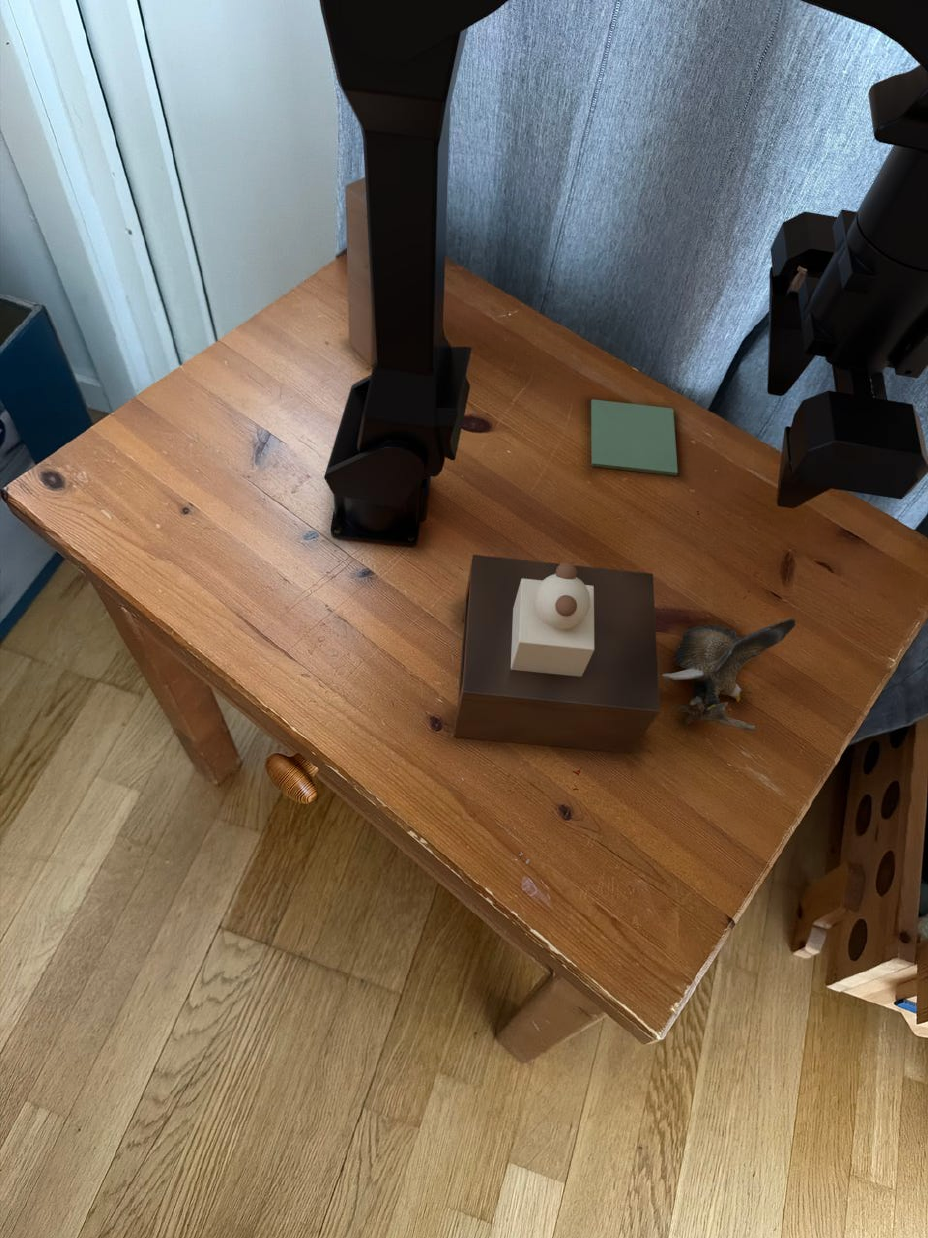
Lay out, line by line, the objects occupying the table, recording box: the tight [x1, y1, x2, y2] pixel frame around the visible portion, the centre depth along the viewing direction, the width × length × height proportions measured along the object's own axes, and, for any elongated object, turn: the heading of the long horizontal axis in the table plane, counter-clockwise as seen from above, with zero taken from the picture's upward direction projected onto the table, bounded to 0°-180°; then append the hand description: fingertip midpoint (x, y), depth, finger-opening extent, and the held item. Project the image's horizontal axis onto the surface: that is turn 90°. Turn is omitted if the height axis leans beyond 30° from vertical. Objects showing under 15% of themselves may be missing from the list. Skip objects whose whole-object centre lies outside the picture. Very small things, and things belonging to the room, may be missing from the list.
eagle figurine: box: [661, 617, 797, 731], centre depth 61 cm, size 8×7×9 cm
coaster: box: [590, 399, 679, 477], centre depth 74 cm, size 7×7×1 cm
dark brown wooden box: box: [452, 554, 661, 754], centre depth 59 cm, size 12×10×7 cm
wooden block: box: [344, 176, 375, 367], centre depth 71 cm, size 7×3×15 cm, turn 130°
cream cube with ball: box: [511, 561, 594, 677], centre depth 53 cm, size 4×4×7 cm
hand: (779, 446), depth 56 cm, fingers open, 9 cm apart
